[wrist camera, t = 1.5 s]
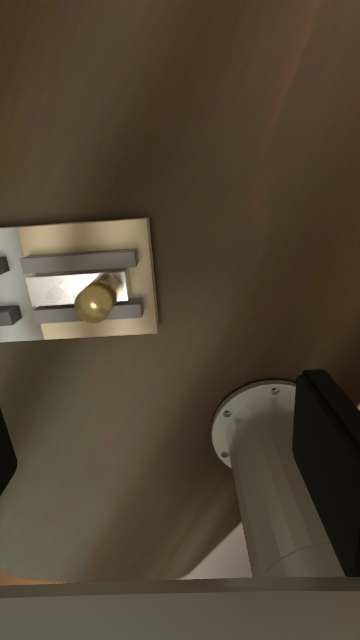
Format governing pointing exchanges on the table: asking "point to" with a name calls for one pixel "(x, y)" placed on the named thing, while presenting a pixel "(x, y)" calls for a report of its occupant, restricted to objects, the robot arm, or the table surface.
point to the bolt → (81, 291)
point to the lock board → (76, 255)
